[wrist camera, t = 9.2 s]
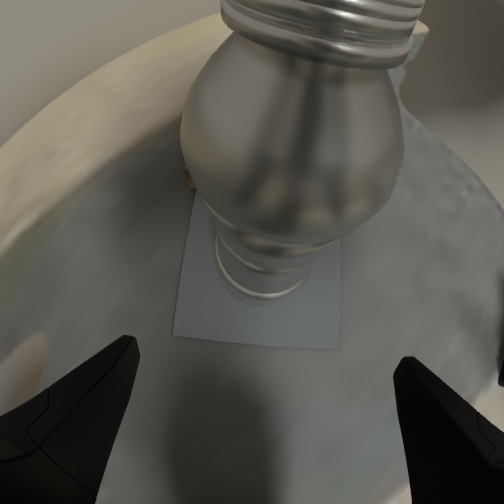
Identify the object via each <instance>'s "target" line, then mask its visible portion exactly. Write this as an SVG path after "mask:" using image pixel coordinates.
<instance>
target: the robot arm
mask: <svg viewBox="0 0 504 504" xmlns="http://www.w3.org/2000/svg"><path fill="white" fill-rule="evenodd" d="M139 360H140V353H139V348H138V344H137V340H136V338H135V337H134V336H129V335H123V336H121V337H120V338H118V339H117V340H115V341H114V342H112V343H111V344H110V345H108V346H107V347H105V348H104V349H102V350H101V351H100V352H98V353H97V354H95V355H94V356H92V357H91V358H89V359H88V360H87V361H85V362H84V363H82V364H81V365H79V366H78V367H77V368H75V369H74V370H72V371H71V372H69V373H68V374H67V375H65V376H64V377H62V378H61V379H59V380H58V381H57V382H55V383H54V384H52V385H51V386H49V388H46V389H45V390H44V391H42V392H41V393H39V394H38V395H36V396H35V397H33V398H32V399H30V400H29V401H27V402H25V403H24V404H22V405H20V406H19V407H17V408H15V409H13V410H11V411H9V412H7V413H6V414H4V415H2V416H0V504H95V502H96V498H97V494H98V491H99V488H100V484H101V481H102V478H103V475H104V472H105V468H106V465H107V462H108V459H109V456H110V453H111V450H112V447H113V444H114V441H115V438H116V436H117V433H118V430H119V427H120V424H121V421H122V419H123V416H124V413H125V410H126V408H127V405H128V402H129V399H130V396H131V392H132V388H133V384H134V380H135V376H136V372H137V368H138V364H139ZM393 381H394V388H395V397H396V405H397V413H398V419H399V424H400V429H401V434H402V439H403V444H404V450H405V456H406V462H407V468H408V475H409V482H410V489H411V498H412V504H504V432H502V431H501V430H500V429H498V428H497V427H496V426H494V425H493V424H492V423H491V422H490V421H488V420H487V419H486V418H485V417H484V416H482V415H481V414H480V413H479V412H477V410H476V409H474V408H473V407H472V406H471V405H470V404H469V403H468V402H466V401H465V400H464V399H463V398H462V397H461V396H460V395H458V394H457V393H456V392H455V391H454V390H453V389H452V388H450V387H449V386H448V385H447V384H446V383H445V382H443V381H442V380H441V379H440V378H439V377H438V376H436V375H435V374H434V373H433V372H432V371H430V370H429V369H428V368H427V367H426V366H425V365H423V364H422V363H421V362H420V361H419V360H417V359H416V358H415V357H413V356H408V357H403V358H402V359H401V361H400V363H399V364H398V366H397V368H396V370H395V372H394V375H393Z"/></svg>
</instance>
